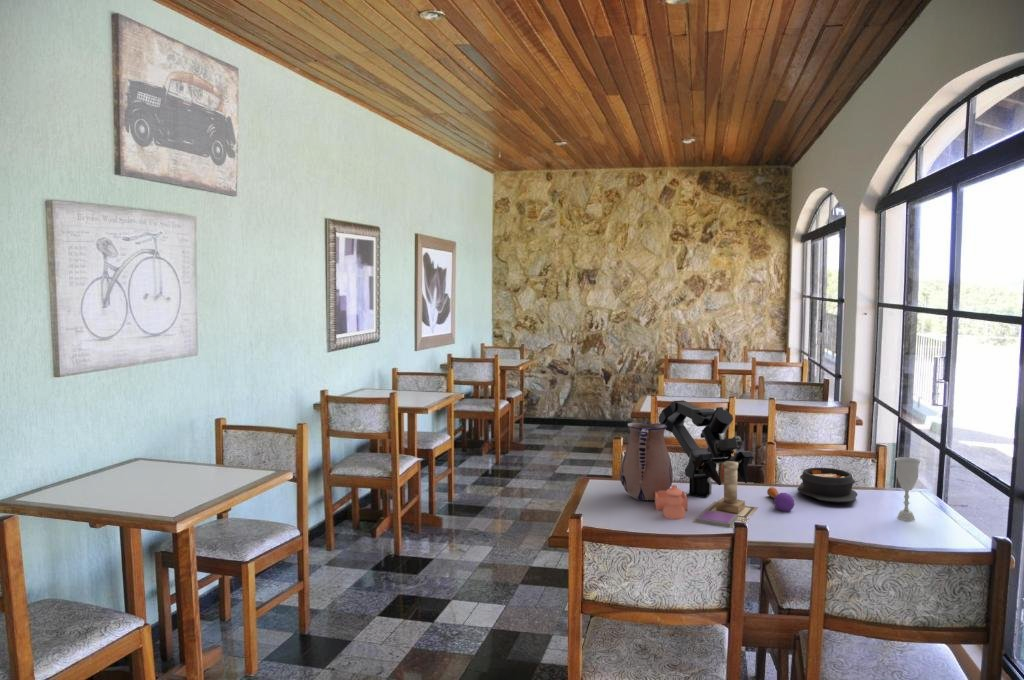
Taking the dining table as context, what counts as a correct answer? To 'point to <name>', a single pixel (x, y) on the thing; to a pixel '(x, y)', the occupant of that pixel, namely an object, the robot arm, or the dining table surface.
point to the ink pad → (717, 518)
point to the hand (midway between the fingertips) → (733, 483)
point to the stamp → (730, 490)
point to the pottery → (671, 502)
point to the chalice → (907, 482)
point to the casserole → (828, 485)
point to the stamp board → (745, 512)
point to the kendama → (781, 500)
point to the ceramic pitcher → (646, 461)
